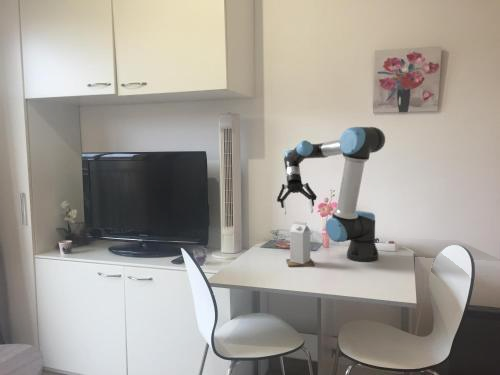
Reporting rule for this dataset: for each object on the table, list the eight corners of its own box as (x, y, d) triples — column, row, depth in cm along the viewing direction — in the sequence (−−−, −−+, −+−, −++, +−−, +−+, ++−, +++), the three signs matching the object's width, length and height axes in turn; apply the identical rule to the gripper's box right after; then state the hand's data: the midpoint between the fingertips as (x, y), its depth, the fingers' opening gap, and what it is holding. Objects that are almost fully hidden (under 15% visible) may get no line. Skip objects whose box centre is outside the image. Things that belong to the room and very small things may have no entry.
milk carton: (297, 258, 205) (297, 220, 203) (310, 260, 201) (310, 221, 199) (290, 262, 199) (289, 222, 197) (303, 264, 195) (302, 224, 193)
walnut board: (310, 260, 205) (310, 258, 205) (314, 266, 195) (314, 264, 195) (286, 261, 205) (286, 259, 204) (288, 267, 195) (288, 265, 195)
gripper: (316, 179, 225) (322, 214, 213) (269, 181, 224) (273, 217, 213) (318, 171, 218) (324, 207, 207) (270, 174, 217) (274, 210, 206)
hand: (298, 212), depth 210 cm, fingers open, 13 cm apart
